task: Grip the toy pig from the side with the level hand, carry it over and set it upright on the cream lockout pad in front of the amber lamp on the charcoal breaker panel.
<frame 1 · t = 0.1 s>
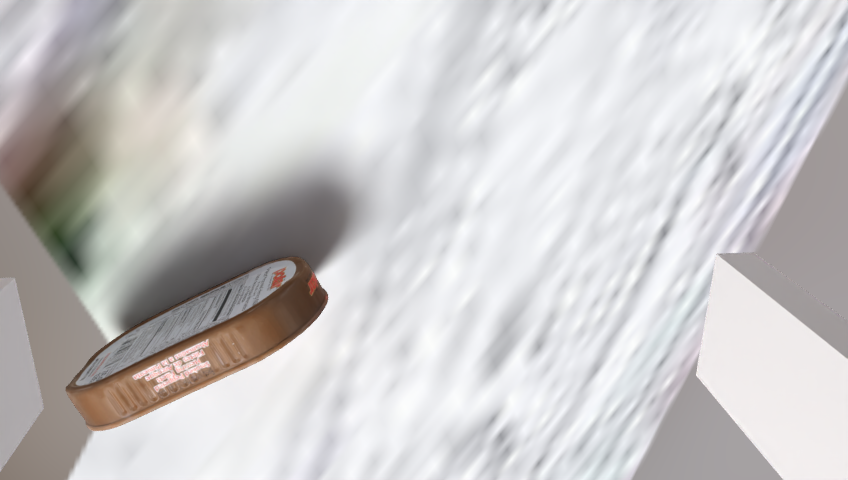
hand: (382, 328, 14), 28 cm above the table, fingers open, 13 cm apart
tin: (211, 303, 44), on the table
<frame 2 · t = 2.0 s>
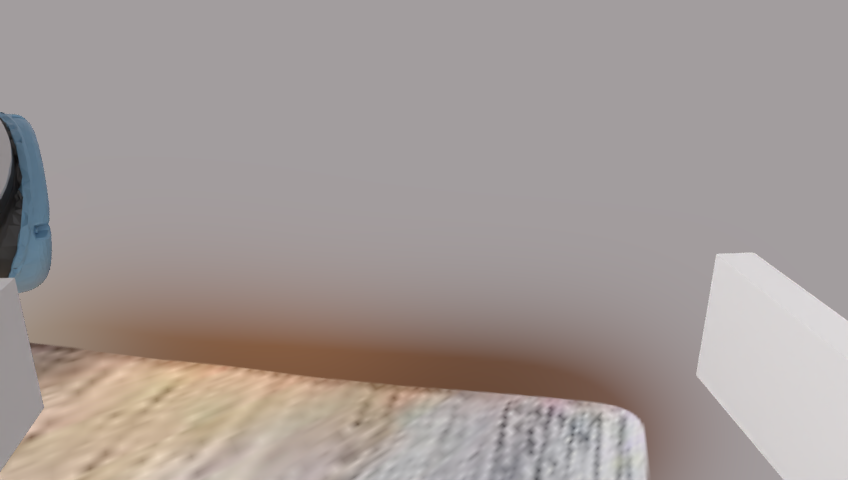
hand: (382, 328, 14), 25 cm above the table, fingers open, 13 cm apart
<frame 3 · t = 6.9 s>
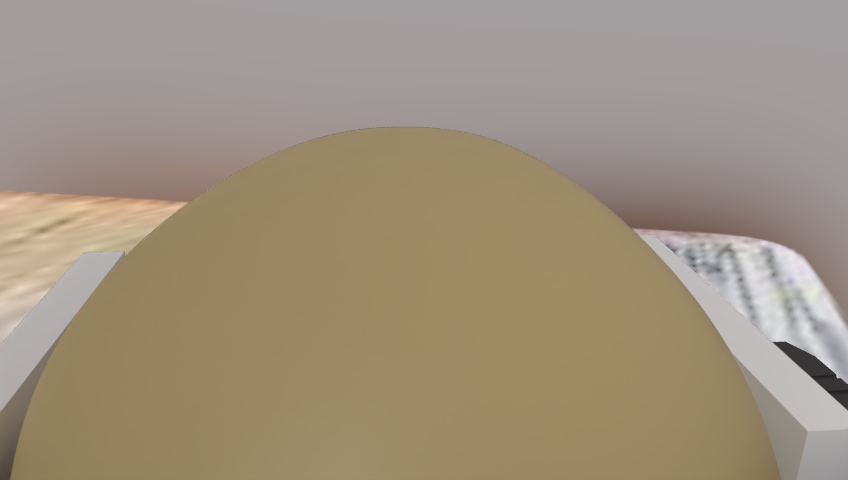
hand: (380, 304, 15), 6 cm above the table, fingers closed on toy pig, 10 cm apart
when the fingers open (9 cm above the table, at t = 12.3 s): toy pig drops 1 cm, resting on breaker panel.
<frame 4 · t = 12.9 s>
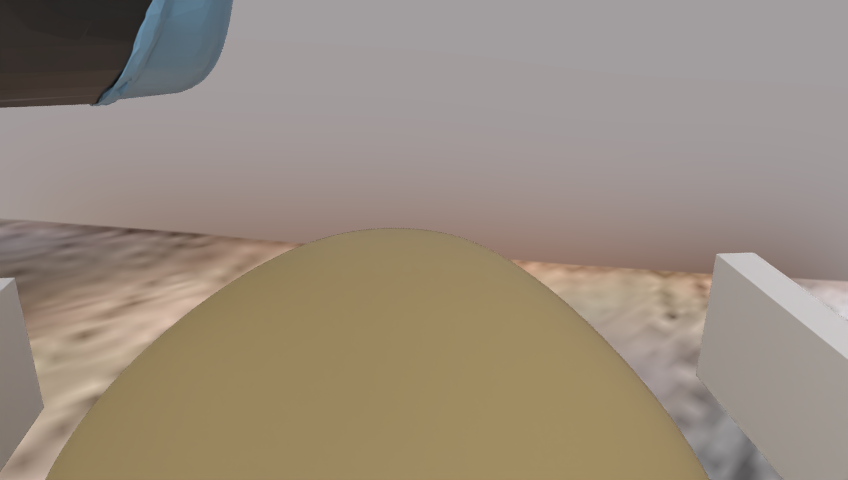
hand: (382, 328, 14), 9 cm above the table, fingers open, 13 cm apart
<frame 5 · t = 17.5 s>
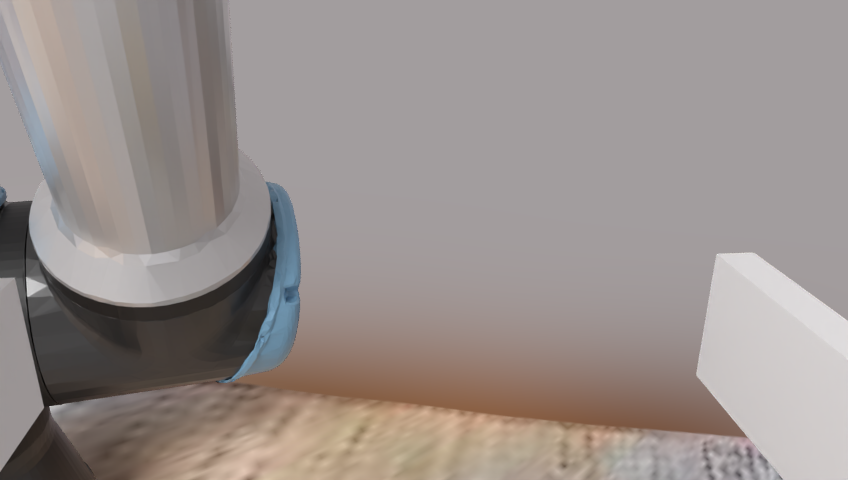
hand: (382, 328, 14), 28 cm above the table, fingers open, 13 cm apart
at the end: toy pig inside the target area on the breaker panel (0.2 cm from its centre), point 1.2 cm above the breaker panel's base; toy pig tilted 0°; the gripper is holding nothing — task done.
